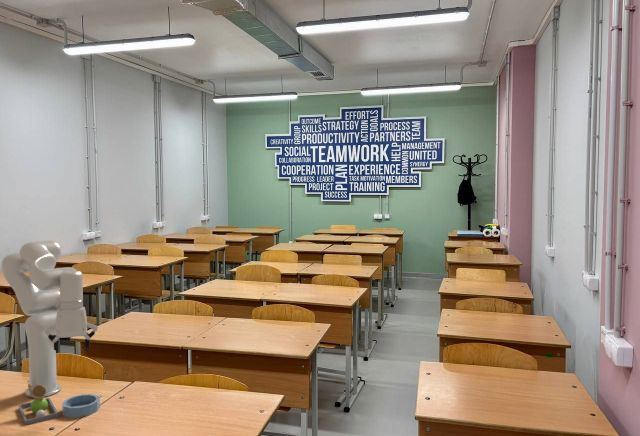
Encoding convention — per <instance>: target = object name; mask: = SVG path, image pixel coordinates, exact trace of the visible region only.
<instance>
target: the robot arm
mask: <svg viewBox="0 0 640 436" xmlns="http://www.w3.org/2000/svg"><path fill="white" fill-rule="evenodd" d="M61 255H62V249H61V246H60V244H59V243H58V242H56V241H54V240H41V241H39V240H38V241H29V242H27V243H25V244H23V245H21V247H20V249H19V252H14V253H10V254H7V255H6V256H4V257H3V258H2V260H1V271H2V274H3V277H4V279H5V280H6V282H7V284H8V285H9V286H10V287H11V288H12V290H13V292H14V293H15V297H16V298H17V301H18V304H19V306H20V309H21V310H22V313H24V315H26V316H29V317H28V318H27V319H26V321H25V323H24V329H25V334H26V338H27V349H28V371H29V372H28V373H29V375H28V376H29V380H30V382H29V384H32V389H34V387H35V386H37V385H43V386H44V387H45V388H46V393H45V394H44V395H46V397H49V396H52V395H55V394H57V393H58V392H60V391H61V389H62V384H60V383H58V380H57V376H58V375H57V354H59V352H60V340H59V339H62V338H73V337H74V338H75V337H77V338H78V337H84V338H85V339H84V351H86V352H87V351H88V348H91V344H90V343H91V341H90V340H91V339H92V337H93V336H94V335H95V334H96V332H97V330H98V328H99V327H98V325H96V324H93V323H90V322H88V319H87V311H86V307H85V306H84V294H83V293H84V292H83V291H84V289H83V287H84V282H83V275H84V274H83V273H82V271H80V270H76V269H75V268H74V267H70V266H69V267H68V266H67V267H58V268H57V267H56V265H57V262H58V260H60V258H61ZM55 267H56V268H55ZM25 273H28V275H27V274H25ZM88 328H90V329H91V330H92V331H91V332H90V333H89V332H88ZM29 380H28V381H29ZM24 392H25V393H24V394H25V396H26V397H28V398H33V397H32V396H31V394H30V392H29V387H28V388H27V389H26V390H25V391H24Z"/></svg>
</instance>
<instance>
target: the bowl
mask: <svg viewBox="0 0 640 436" xmlns="http://www.w3.org/2000/svg"><path fill="white" fill-rule="evenodd" d="M100 401H101V400H100V396H99V395H97V394H93V393H85V394H84V393H83V394H78V395H73V396H71V397H69V398H66V399H65V400H64V401H63V402H62V403H61V406H62V407H61V409H62V411H61V412H62V415H63V416H64V417H67V418H70V419H71V418H72V419H73V418H74V419H75V418H82V417H87V416H90V415H93V414H95V413H96V412H98V410H99V409H100V408H101V405H100V404H101V402H100Z"/></svg>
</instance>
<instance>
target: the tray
mask: <svg viewBox="0 0 640 436" xmlns="http://www.w3.org/2000/svg"><path fill="white" fill-rule="evenodd" d="M45 399H46V400H47V402H48V406H49V407H50V409H51V411H52V412H53V413H49V414H45V416H41V417H36V416H35V417H34V418H28V419H27V417H26V414H25V412H24V410H23V409H26V408H31V402H32V401H30V402H24V403H19V404H18V411H19V413H20V416H21V418H22V421H23V423H24V425H25V426H27V425H30V424H32V425H33V424H37V423H41V422H44V421H47V420H51V419H52V420H53V419H55V418H56V419H57V418H59V412H58V410H57V408H56V407H55V405H54V403H53V402H52V400H51V398H50V397H48V398H45Z"/></svg>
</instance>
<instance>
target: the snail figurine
mask: <svg viewBox="0 0 640 436" xmlns="http://www.w3.org/2000/svg"><path fill="white" fill-rule="evenodd" d="M27 387H28V388H29V392H30V394H31V396H32V397H33V398H34V399H33V400H34V401H33V400H32V401H33V402H32V401H31V402H32V403H31V407H30V410H31V412H32V413H34V414H36V413H37V411H39V410H44V411H45V412H46V410H47V409H48V406H49V404H48V402H47V400H46V399H47V398H45V397H47V396H46V395H44V394H45V393H46V388H45V387H44V386H43V385H37V386H35V387H34V389H32V384H30V380H28V381H27ZM32 397H31V398H32Z"/></svg>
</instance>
